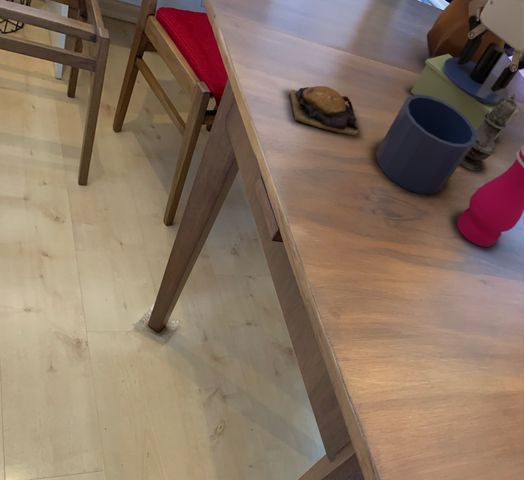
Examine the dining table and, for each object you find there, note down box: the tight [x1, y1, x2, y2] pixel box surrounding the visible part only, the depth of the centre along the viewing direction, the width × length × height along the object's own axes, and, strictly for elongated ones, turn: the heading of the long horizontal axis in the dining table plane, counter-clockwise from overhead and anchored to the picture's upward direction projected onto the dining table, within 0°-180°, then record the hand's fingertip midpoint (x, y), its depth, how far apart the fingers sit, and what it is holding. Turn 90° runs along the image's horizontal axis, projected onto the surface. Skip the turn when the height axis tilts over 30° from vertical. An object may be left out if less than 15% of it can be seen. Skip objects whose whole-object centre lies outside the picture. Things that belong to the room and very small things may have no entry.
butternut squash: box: [426, 0, 506, 63], centre depth 100 cm, size 14×13×25 cm
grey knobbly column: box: [459, 93, 517, 171], centre depth 88 cm, size 6×6×12 cm
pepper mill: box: [456, 144, 524, 248], centre depth 74 cm, size 7×7×20 cm
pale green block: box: [410, 54, 521, 141], centre depth 98 cm, size 17×8×6 cm, turn 44°
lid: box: [443, 42, 509, 104], centre depth 93 cm, size 12×12×7 cm
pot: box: [375, 94, 477, 195], centre depth 82 cm, size 11×11×8 cm
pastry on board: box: [289, 85, 359, 136], centre depth 85 cm, size 11×8×4 cm
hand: (479, 75), depth 94 cm, fingers open, 6 cm apart
